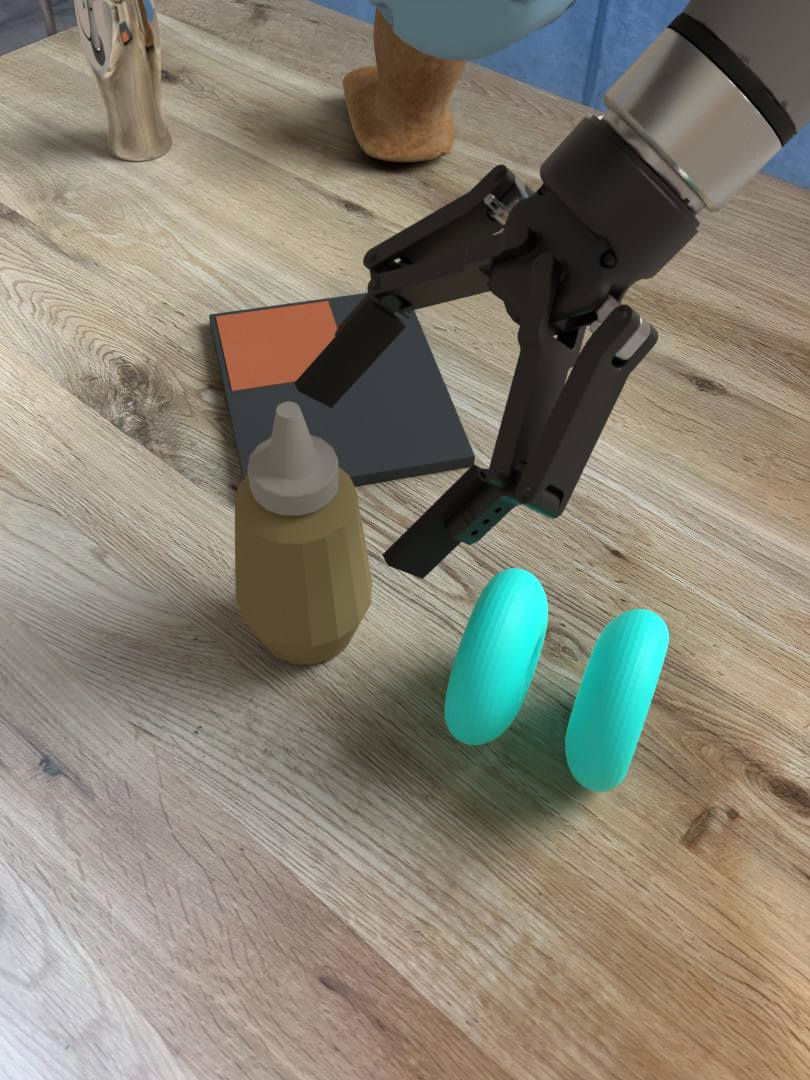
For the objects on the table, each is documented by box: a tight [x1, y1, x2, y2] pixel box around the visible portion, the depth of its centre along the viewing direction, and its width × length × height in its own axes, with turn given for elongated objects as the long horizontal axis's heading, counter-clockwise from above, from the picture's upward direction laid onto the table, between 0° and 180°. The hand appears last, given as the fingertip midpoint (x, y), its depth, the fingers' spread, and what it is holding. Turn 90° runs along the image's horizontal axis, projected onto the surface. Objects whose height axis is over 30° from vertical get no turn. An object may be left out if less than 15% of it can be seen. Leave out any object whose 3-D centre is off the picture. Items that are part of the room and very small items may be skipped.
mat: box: [208, 292, 476, 487], centre depth 79 cm, size 20×16×1 cm
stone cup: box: [342, 6, 469, 163], centre depth 98 cm, size 15×12×15 cm
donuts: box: [444, 567, 670, 793], centre depth 57 cm, size 10×10×10 cm
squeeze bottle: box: [234, 402, 373, 666], centre depth 58 cm, size 8×8×18 cm
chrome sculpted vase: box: [73, 0, 173, 162], centre depth 96 cm, size 7×7×15 cm
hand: (354, 475), depth 56 cm, fingers open, 13 cm apart
